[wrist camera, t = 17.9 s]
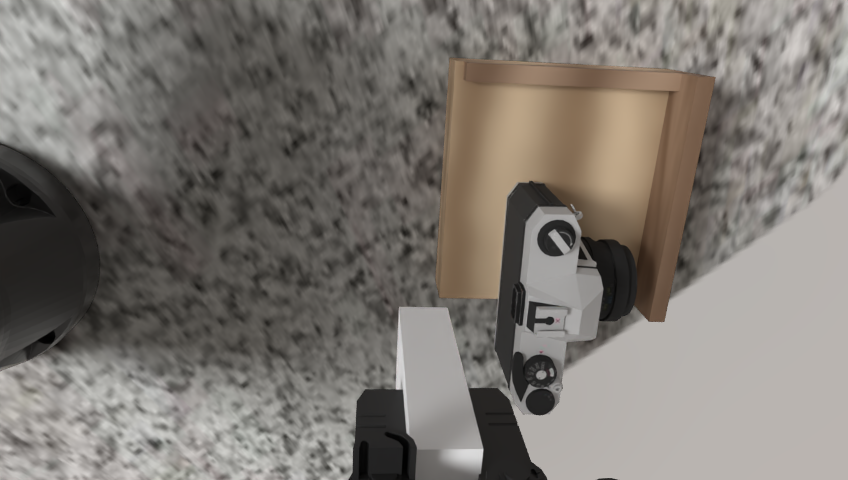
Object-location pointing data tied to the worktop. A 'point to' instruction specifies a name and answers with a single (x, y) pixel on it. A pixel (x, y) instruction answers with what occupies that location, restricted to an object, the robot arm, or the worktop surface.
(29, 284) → the robot arm
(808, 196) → the worktop surface
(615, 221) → the wooden corner tray
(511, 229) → the camera
